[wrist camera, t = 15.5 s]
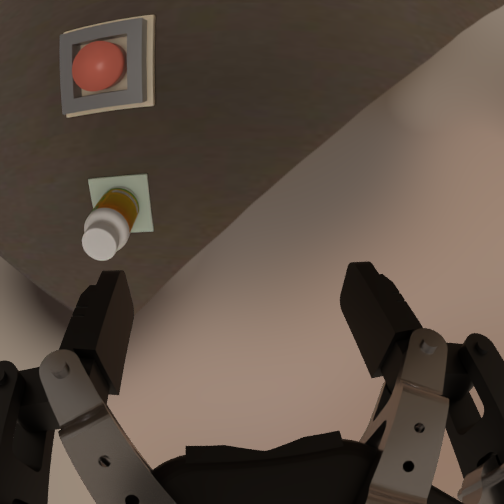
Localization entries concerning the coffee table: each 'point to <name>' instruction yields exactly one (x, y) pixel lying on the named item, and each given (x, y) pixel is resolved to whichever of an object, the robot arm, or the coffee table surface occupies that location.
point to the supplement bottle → (110, 223)
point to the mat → (134, 184)
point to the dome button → (99, 66)
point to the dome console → (135, 80)
